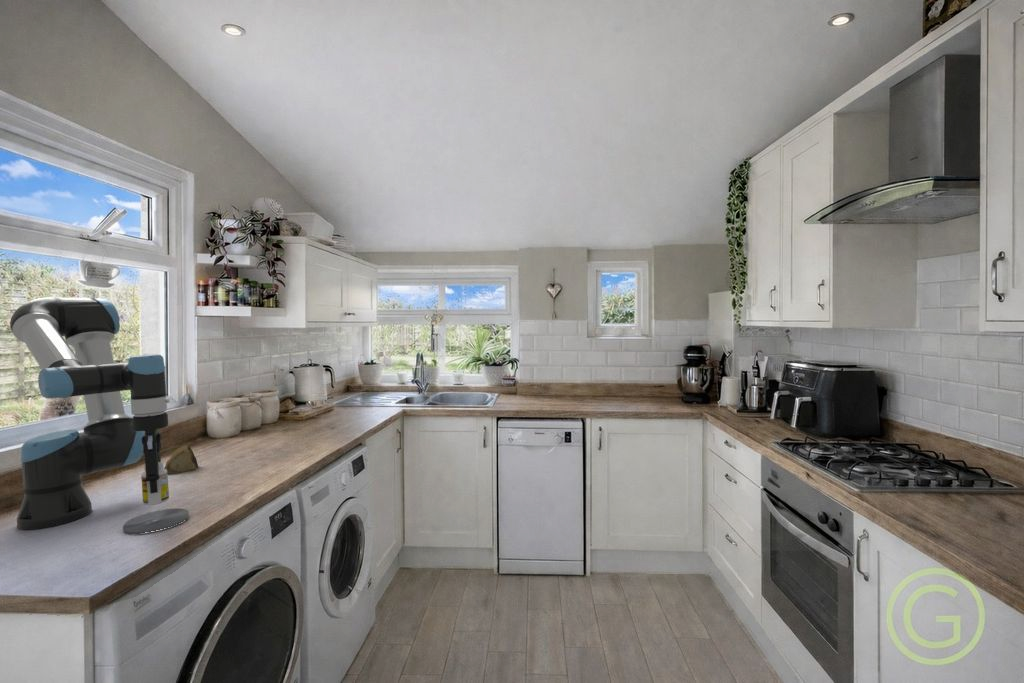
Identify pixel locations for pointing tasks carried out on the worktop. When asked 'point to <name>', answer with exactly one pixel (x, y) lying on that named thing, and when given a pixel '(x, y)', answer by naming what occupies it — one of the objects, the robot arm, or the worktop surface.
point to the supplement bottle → (163, 484)
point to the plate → (155, 520)
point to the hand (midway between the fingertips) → (156, 500)
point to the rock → (181, 460)
